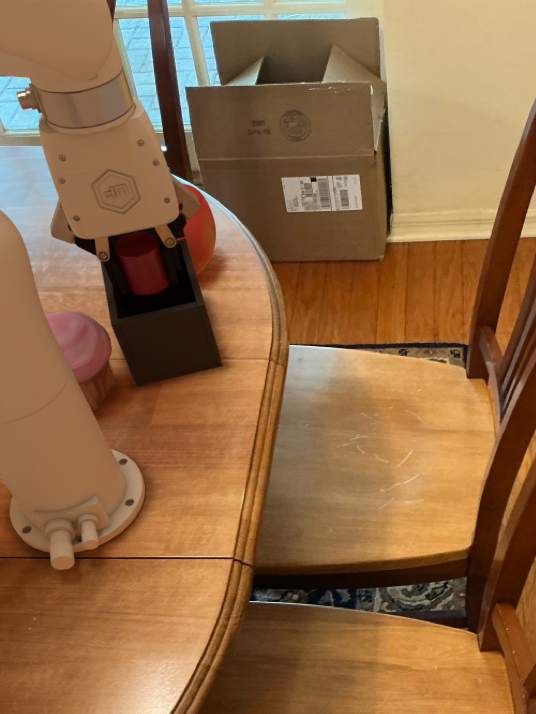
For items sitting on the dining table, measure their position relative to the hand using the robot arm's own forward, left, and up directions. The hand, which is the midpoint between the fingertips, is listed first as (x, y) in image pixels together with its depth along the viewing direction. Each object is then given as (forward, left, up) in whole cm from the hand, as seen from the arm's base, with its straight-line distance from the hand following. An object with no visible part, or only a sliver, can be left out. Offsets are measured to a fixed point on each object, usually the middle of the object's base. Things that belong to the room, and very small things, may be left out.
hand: (148, 279), depth 80 cm
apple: (+15, -4, -10) cm, 19 cm away
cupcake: (-4, +10, -10) cm, 15 cm away
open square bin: (+2, 0, -10) cm, 10 cm away
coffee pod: (0, 0, 0) cm, 0 cm away
